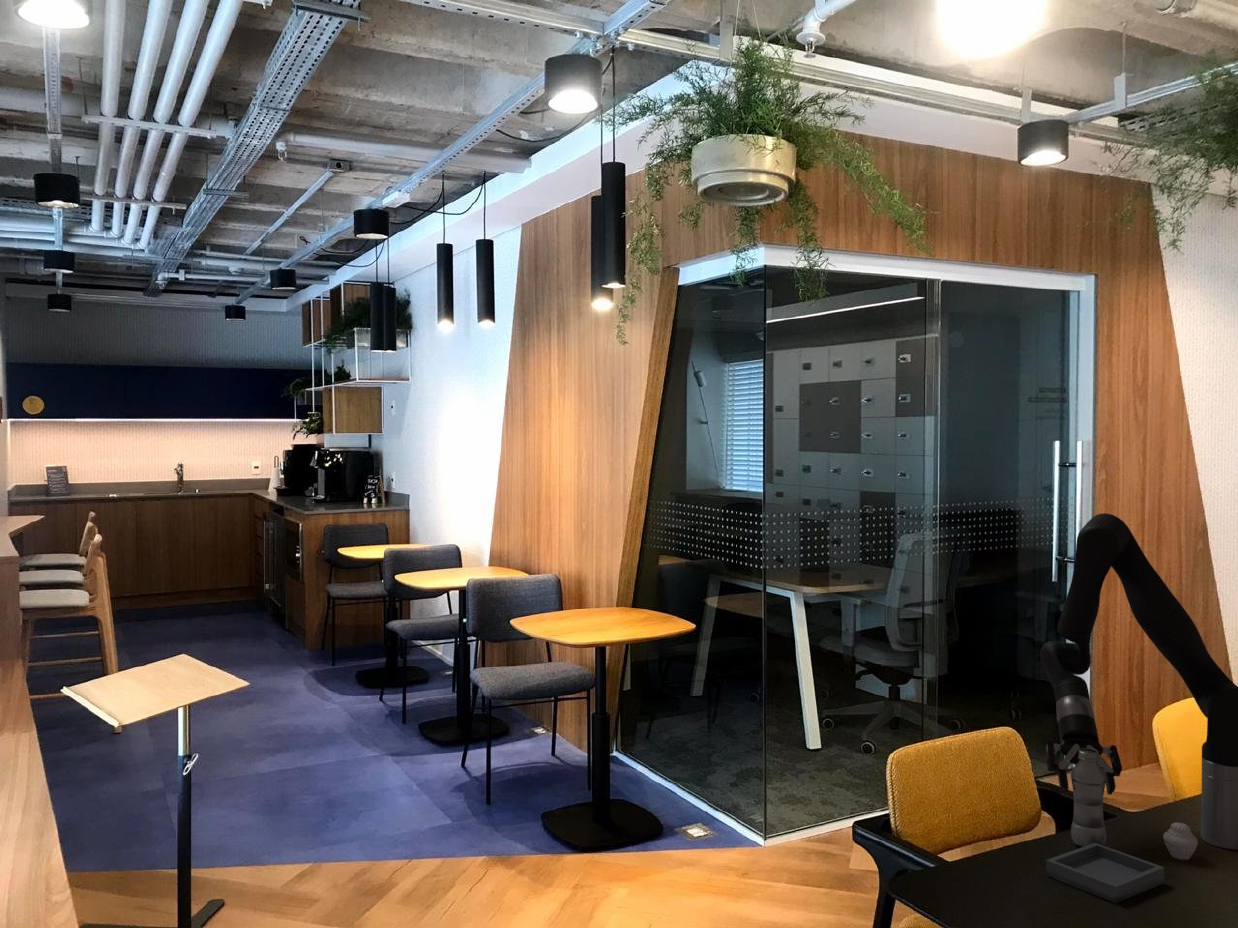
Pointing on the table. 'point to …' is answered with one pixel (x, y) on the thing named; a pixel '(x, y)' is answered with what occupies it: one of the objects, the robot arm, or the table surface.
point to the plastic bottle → (1088, 799)
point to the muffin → (1180, 841)
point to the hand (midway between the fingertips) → (1088, 790)
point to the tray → (1105, 872)
